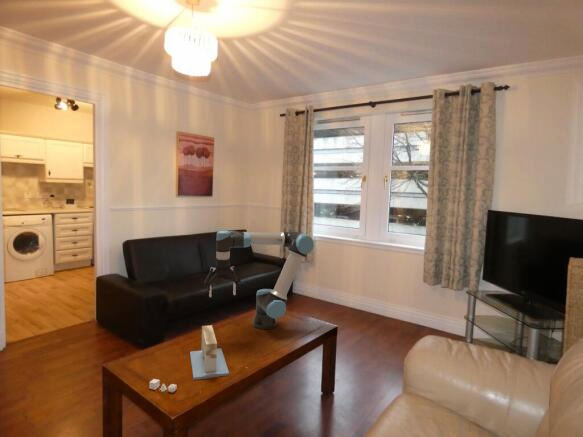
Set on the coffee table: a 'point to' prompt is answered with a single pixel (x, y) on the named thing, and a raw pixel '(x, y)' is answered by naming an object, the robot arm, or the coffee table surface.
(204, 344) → the maple beam
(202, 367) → the blueprint board
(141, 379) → the coffee table surface
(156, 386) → the game pieces
